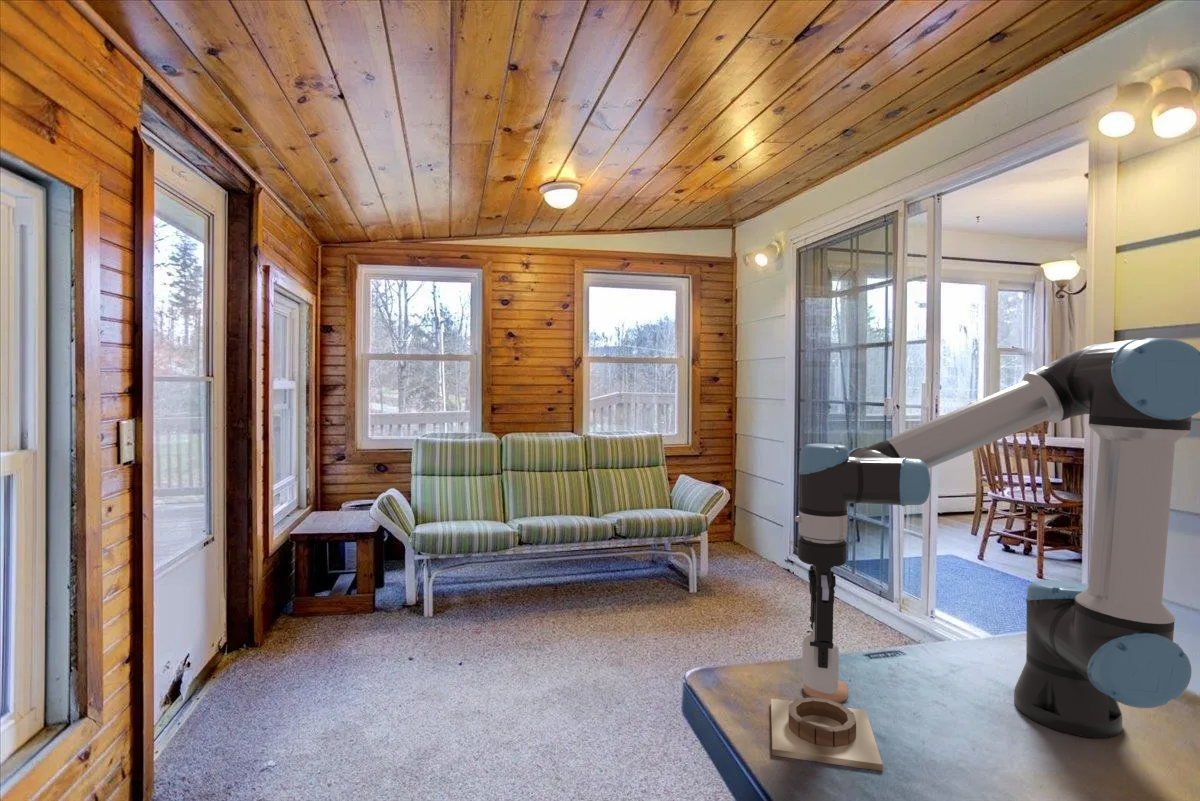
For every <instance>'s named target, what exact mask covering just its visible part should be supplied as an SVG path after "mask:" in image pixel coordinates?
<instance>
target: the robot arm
mask: <svg viewBox="0 0 1200 801" xmlns="http://www.w3.org/2000/svg"><path fill="white" fill-rule="evenodd" d="M1198 413H1200V350H1199V349H1197V348H1196V347H1195V346H1193V345H1191V344H1190V343H1188V342H1186V341H1182V340H1179V339H1174V338H1167V337H1166V338H1165V337H1164V338H1163V337H1162V338H1161V337H1146V338H1145V337H1144V338H1143V337H1142V338H1135V339H1127V340H1119V341H1113V342H1112V341H1111V342H1100V343H1099V342H1098V343H1094V344H1092V345H1088V346H1085V347H1081V348H1079V349H1078V350H1075V351H1072V352H1070V353H1068V354H1065V355H1064V356H1061V357H1060V358H1057V359H1055V360H1054V361H1051V362H1049V363H1047V364H1045V365H1042V366H1041V367H1038V368H1036V369H1034V370H1032V371H1029V372H1028V373H1025V374H1024V376H1023V377H1022V381H1021V382H1019V383H1016V384H1014V385H1013V384H1012V385H1011V386H1009V387H1006V388H1005V389H1003V390H999V391H997V392H995V393H993V394H990V395H988V396H985V397H983V398H980V399H979V400H976V401H973V402H972V403H969V404H967V405H965V406H962V407H960V408H957V409H955V410H953V411H950V412H947V413H946V414H943V415H941V416H939V417H936V418H934V419H931V420H928V421H927V422H923V423H921V424H919V425H917V426H915V427H913V428H910V429H908V430H905V431H903V432H900V433H898V434H895V435H893V436H892V437H888V438H887V439H885V440H882V441H879V442H877V443H874V444H872V445H870V446H867V447H866V446H860V447H855V448H853V449H851V450H849V448H848V447H847V446H846V445H843V444H838V443H820V442H818V443H806V444H805V445H803V446H802V447H801V449H800V452H799V454H800V455H799V465H798V466H799V468H798V514H799V515H798V516H797V515H796V516H794V522H797V523H798V533H799V535H800V537H799V538H798V540H797V542H798V543H797V548H798V549H797V558H798V559H799V560H800V561H801V562H802V563H804V564H807V565H810V566H809V569H808V581H809V594H810V616H809V621H810V628H811V631H810V635H813V622H815V640H814V642H811V641H810V646H813V685H818V686H826V687H831V649H833V641H834V604H835V593H836V592H835V587H836V585H837V584H836V581H837V580H836V575H834V571H833V570H831V569H832V568H834V567H841V566H844V565H846V563H847V554H848V553H847V552H848V550H847V549H848V548H847V546H848V544H847V542H846V540H845V539H847V538H848V504H867V505H868V504H869V505H870V504H871V505H888V506H889V505H890V506H901V507H905V506H921V505H923V504H925V503H926V502H927V500H928V498H929V496H930V493H931V475H930V471H929V469H930V468H932V467H936V466H937V465H940V464H942V463H945V462H947V461H951V460H952V459H955V458H958V457H960V456H962V455H964V454H968V453H970V452H972V451H975V450H977V449H981V448H982V447H985V446H987V445H989V444H992V443H994V442H997V441H999V440H1001V439H1004V438H1007V437H1009V436H1012V435H1014V434H1016V433H1019V432H1021V431H1024V430H1026V429H1029V428H1032V427H1034V426H1036V425H1039V424H1042V423H1044V422H1049V423H1053V424H1056V423H1059V422H1062V421H1064V420H1068V419H1071V418H1074V417H1078V416H1084V415H1088V426H1089V428H1091V430H1093V431H1094V432H1095V433H1096V434H1097V435H1098V437H1099V447H1098V459H1097V472H1096V486H1095V497H1094V498H1095V499H1094V510H1093V523H1092V525H1093V526H1092V535H1091V536H1092V538H1091V547H1090V548H1091V552H1090V564H1089V574H1088V576H1089V577H1088V583H1082V582H1078V581H1077V582H1076V581H1075V582H1074V581H1067V580H1050V579H1049V580H1048V579H1046V580H1043V579H1042V580H1035V581H1032V582H1031V583H1029V585H1028V586H1027V590H1026V591H1027V592H1026V598H1025V602H1026V633H1025V635H1026V637H1025V638H1026V643H1025V644H1026V645H1025V646H1026V656H1025V657H1026V658H1025V659H1026V661H1025V664H1024V666H1023V668H1022V670H1021V673H1020V675H1019V678H1018V679H1017V681H1016V685H1015V687H1014V690H1013V691H1014V692H1013V702H1014V705H1015V707H1016V709H1018V711H1020V713H1021V714H1023V715H1025V717H1027V718H1029V719H1031V720H1033V721H1034V722H1036V723H1039V724H1041V725H1043V726H1045V727H1047V728H1051V729H1053V730H1056V731H1059V732H1063V733H1066V734H1070V735H1074V736H1079V737H1086V738H1094V739H1095V738H1097V739H1100V738H1101V739H1102V738H1104V739H1106V738H1113V737H1117V736H1118V735H1120V734H1121V733H1122V731H1123V713H1122V709H1121V708H1120V706H1119V703H1120V704H1122V705H1125V706H1127V707H1132V708H1137V709H1153V708H1159V707H1162V706H1165V705H1167V704H1169V702H1170V701H1172V700H1176V699H1178V698H1179V697H1180V696H1181V695H1183V693H1184V692H1186V690H1187V688H1188V686H1189V684H1190V682H1191V678H1192V665H1191V664H1192V663H1191V661H1190V659H1189V657H1188V655H1187V654H1186V653H1185V652H1184V650H1183V648H1182V647H1181V646H1180V645H1179V644H1178V643H1176V642H1174V634H1175V633H1174V631H1175V623H1176V622H1175V615H1173V614H1172V612H1171V611H1169V609H1168V608H1167V607H1166V606H1165V605H1164V603H1163V595H1164V594H1163V593H1164V584H1165V583H1164V582H1165V570H1166V557H1167V546H1168V534H1169V522H1170V519H1169V518H1170V511H1171V510H1170V509H1171V497H1172V484H1173V471H1174V459H1175V447H1176V444H1177V442H1178V441H1179V440H1181V439H1182V438H1184V437H1185V436H1186V437H1187V435H1188V434H1190V433H1191V428H1192V420H1193V419H1192V418H1193V416H1195V415H1196V414H1198Z"/></svg>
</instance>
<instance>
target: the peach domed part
mask: <svg viewBox="0 0 1200 801" xmlns="http://www.w3.org/2000/svg"><path fill="white" fill-rule="evenodd" d="M802 684H803V685H802V686H803V687H802V688H803V689H802V691H803V692H804V694H805V695H806V696H807V697H810V698H811V697H814V698H822V699H827V700H831V701H834V702H837V703H839V704H842V703H843V702H846V701H847V700H848V698H849V686H848V685H847V684H846V683H845V682H844V681H842V680H840V679H839V678H838V690H837V691H836V692H834V693H832V694H828V693H823V692H820V691H817V690H814V689H812V688H810V687H808V686H806V685H805V684H804V683H803V682H802Z"/></svg>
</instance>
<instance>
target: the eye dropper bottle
mask: <svg viewBox="0 0 1200 801" xmlns="http://www.w3.org/2000/svg"><path fill="white" fill-rule="evenodd" d="M812 631H813V635H811V634H809V635H807V636H805V637H804V638H803V640H802V654H801V655H802V658H801V660H802V661H801V662H802V664H801V665H802V666H801V668H802V669H801V681H802V684H803V683H804V684H805V685H806V686H808V687H810V688H812V689H814V690H817V691H820V692H823V693H828V694H832V693H834V692H836V691H837V690H838V679H839V670H840V669H839V668H840V666H839V665H840V664H839V657H840V656H839V654H840V652H839V645H838V644H837V642H835V641H834V640H833V649H831V687H826V686H818V685H813V646H810V641H811V642H814V640H815V622H813V630H812Z"/></svg>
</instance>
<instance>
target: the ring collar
mask: <svg viewBox="0 0 1200 801" xmlns="http://www.w3.org/2000/svg"><path fill="white" fill-rule="evenodd" d="M770 715H771V716H770V718H771V723H770V724H771V752H772V753H771V754H772V756H775V757H783V758H789V759H795V760H802V761H811V762H817V763H825V764H831V765H839V766H845V767H850V768H851V767H852V768H861V769H867V770H872V771H880V772H882V771H883V772H884V764H883V761H882V758H881V754H880V752H879V748H878V745H877V741H876V739H875V738H876V737H875V735H874V733H873V729H872V727H871V722H870V719H869V716H868V713H867V710H866V709H861V708H851V707H846V705H843V704H842V703H837V702H834V701H831V700H827V699H822V698H814V697H811V698H810V697H809V696H807V697H802V698H797V699H795V700H793V701H792V700H784V699H777V698H776V699H775V698H770Z"/></svg>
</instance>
